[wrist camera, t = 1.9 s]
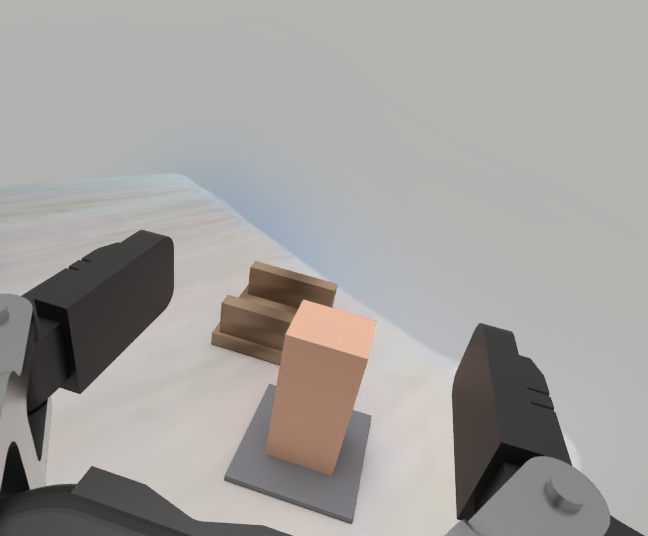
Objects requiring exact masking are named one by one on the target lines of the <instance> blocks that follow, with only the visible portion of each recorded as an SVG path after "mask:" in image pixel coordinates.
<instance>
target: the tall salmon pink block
mask: <svg viewBox="0 0 648 536" xmlns="http://www.w3.org/2000/svg"><path fill="white" fill-rule="evenodd" d="M375 326H376V320H373V319H369V318H366V317H362V316H359V315H355V314H352V313H348V312H345V311H341V310H338V309H334V308H331V307H328V306H324V305H321V304H317V303H314V302H310V301H307V300H303V301H302V303H301V305H300V307H299V309H298V311H297V313H296V315H295V317H294V318H293V320H292V322H291V324H290V326H289V328H288V330H287V332H286V334H285V339H284V345H283V351H282V357H281V363H280V369H279V375H278V380H277V386H276V392H275V398H274V404H273V410H272V416H271V422H270V427H269V433H268V439H267V445H266V451H265V454H267V455H270V456H273V457H276V458H279V459H282V460H285V461H288V462H291V463H294V464H297V465H300V466H303V467H306V468H309V469H312V470H315V471H318V472H321V473H324V474H327V475H330V476H332V475H333V472H334V469H335V465H336V462H337V459H338V456H339V452H340V449H341V446H342V443H343V439H344V436H345V433H346V430H347V426H348V423H349V420H350V416H351V413H352V410H353V407H354V403H355V400H356V397H357V394H358V390H359V387H360V384H361V381H362V377H363V374H364V371H365V368H366V364H367V361H368V357H369V353H370V348H371V344H372V339H373V335H374V330H375Z"/></svg>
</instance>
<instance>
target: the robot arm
mask: <svg viewBox="0 0 648 536" xmlns="http://www.w3.org/2000/svg"><path fill="white" fill-rule="evenodd" d="M173 290H174V245H173V241H172V239H171V238H170V237H167V236H163V235H160V234H156V233H152V232H149V231H145V230H140V231H138V232H136V233H135V234H133V235H132V236H130V237H129V238H127V239H126V240H124V241H122V242H121V243H119V242H118V243H114V244H111V245H108V246H104V247H101V248H98V249H96V250H94V251H93V252H91V253H90V254H88V255H86V256H85V257H83V258H82V260H81V261H80V260H78V261H77V262H75V263H73V264H72V265H70V266H69V268H68V269H66V268H65V269H64V270H62V271H61V272H59V273H57V274H56V275H54V276H53V277H51V278H49V279H48V280H46V281H44V282H43V283H41V284H40V285H38V286H36V287H35V288H33V289H32V290H30V291H28V292H27V293H25V294H24V295H22V296H18V295H13V294H0V536H292V535H289V534H286V533H283V532H280V531H278V530H275V529H272V528H269V527H266V526H263V525H247V524H232V523H217V522H202V521H197V520H194V519H192V518H191V517H189V516H188V515H186V514H185V513H184V512H182V511H181V510H180V509H178V508H177V507H175V506H174V505H173V504H171V503H170V502H169V501H167V500H166V499H165V498H163V497H162V496H160V495H159V494H158V493H156V492H155V491H154V490H152V489H151V488H150V487H148V486H147V485H145V484H142V483H139V482H136V481H134V480H131V479H128V478H125V477H122V476H119V475H116V474H113V473H110V472H108V471H105V470H102V469H99V468H96V467H93V466H91V468H90V469H89V470H88V471H87V473H86V474H85V475H84V476H83V478H82V479H81V480H80V481H79V483H78V484H59V485H51V486H46V464H47V454H48V443H49V433H50V422H51V412H52V400H51V395H52V394H53V393H54V392H55V391H56V390H57V389H58V388H59V387H60V388H63V389H66V390H69V391H72V392H75V393H78V394H81V393H82V392H83V391H84V390H85V389H86V388H87V387H88V386H89V385H90V384H91V383H92V382H93V381H94V380H95V379H96V378H97V377H98V376H99V375H100V374H101V373H102V372H103V371H104V370H105V369H106V368H107V367H108V366H109V365H110V364H111V363H112V362H113V361H114V360H115V359H116V358H117V357H118V356H119V355H120V354H121V353H122V352H123V351H124V350H125V349H126V348H127V347H128V346H129V345H130V344H131V343H132V342H133V341H134V340H135V339H136V338H137V337H138V336H139V335H140V334H141V333H142V332H143V331H144V330H145V329H146V328H147V327H148V326H149V325H150V324H151V323H152V322H153V321H154V320H155V319H156V318H157V317H158V316H159V315H160V314H161V313H162V312H163V311H164V310H165V309H166V308H167V306H168V304H169V303H170V301H171V298H172V295H173ZM452 407H453V432H454V457H455V483H456V508H457V519H458V520H461V521H460V522H458V523H457V524H456V525H455V526H454V527H453V528H452V529H451V530H450V531H449V532H448V533H447V534H446V535H445V536H644V535H642V534H640V533H639V532H637V531H635V530H634V529H632V528H630V527H628V526H627V525H625V524H623V523H622V522H620V521H618V520H617V519H615V518H614V517H612V516H611V515H610V512H609V509H608V506H607V503H606V501H605V499H604V498H603V496H602V495H601V493H600V491H599V490H598V489H597V488H596V486H595V485H594V484H593V483H592V482H591V481H590V480H589V479H588V478H587V477H586V476H585V475H584V474H582V473H581V472H580V471H578V470H577V469H576V468H574V467H572V464H571V460H570V457H569V454H568V451H567V448H566V444H565V441H564V438H563V435H562V432H561V429H560V425H559V422H558V419H557V416H556V413H555V412H554V406H553V403H552V400H551V397H549V390H548V387H547V384H546V381H545V378H544V375H543V374H542V373H541V372H540V370H539V369H538V368H537V366H536V365H535V364H534V363H533V361H532V360H531V359H530V358H527V357H523V356H520V355H519V354H518V350H517V346H516V342H515V338H514V334H513V333H512V332H511V331H507V330H504V329H500V328H496V327H493V326H489V325H486V324H482V323H480V324H478V326H477V327H476V329H475V331H474V333H473V335H472V337H471V340H470V342H469V344H468V346H467V349H466V351H465V353H464V356H463V358H462V360H461V362H460V365H459V367H458V369H457V372H456V375H455V378H454V383H453V389H452Z"/></svg>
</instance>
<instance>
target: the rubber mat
mask: <svg viewBox="0 0 648 536" xmlns="http://www.w3.org/2000/svg"><path fill="white" fill-rule="evenodd" d="M275 392H276V386H275V385H271V384H269V386H268V388H267V390H266V392H265V394H264V396H263V398H262V400H261V402H260V404H259V406H258V408H257V410H256V413H255V415H254V417H253V419H252V421H251V423H250V425H249V427H248V429H247V431H246V433H245V435H244V437H243V439H242V441H241V443H240V445H239V448H238V450H237V452H236V454H235V456H234V458H233V460H232V462H231V464H230V466H229V468H228V470H227V472H226V474H225V479H224V480H227V481H230V482H232V483H235V484H238V485H241V486H244V487H247V488H250V489H253V490H256V491H259V492H262V493H264V494H267V495H270V496H273V497H276V498H279V499H282V500H285V501H288V502H291V503H294V504H296V505H299V506H302V507H305V508H308V509H311V510H314V511H317V512H320V513H323V514H326V515H328V516H331V517H334V518H337V519H340V520H343V521H346V522H349V523H352V520H353V516H354V510H355V504H356V499H357V493H358V488H359V482H360V476H361V471H362V465H363V460H364V454H365V448H366V443H367V437H368V432H369V426H370V420H371V416H370V415H367V414H364V413H361V412H358V411H354V410H352V413H351V416H350V420H349V423H348V426H347V430H346V433H345V436H344V439H343V443H342V446H341V449H340V452H339V456H338V459H337V462H336V465H335V469H334V472H333V475H332V476H330V475H327V474H324V473H321V472H318V471H315V470H312V469H309V468H306V467H303V466H300V465H297V464H294V463H291V462H288V461H285V460H282V459H279V458H276V457H273V456H270V455H267V454H265V451H266V445H267V439H268V433H269V427H270V422H271V416H272V410H273V404H274V398H275Z"/></svg>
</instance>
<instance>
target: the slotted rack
mask: <svg viewBox="0 0 648 536" xmlns="http://www.w3.org/2000/svg"><path fill="white" fill-rule="evenodd" d="M336 289H337V284H335V283H331V282H328V281H324V280H321V279H317V278H314V277H310V276H306V275H303V274H299V273H296V272H292V271H289V270H285V269H281V268H278V267H274V266H271V265H267V264H264V263H260V262H257V261H255V262H254V263H253V265H252V266H251V267H250V277H249V285H248V286H247V288H246V289H245V290H244V291H243V293H242V294H241V295H240V297H239V298H237V297H234V296H230V295H228V296H227V297H226V298H225V299H224V300H223V302H222V306H221V320H220V323H219V324H218V326H217V327H216V328H215V330H214V331H213V332H212V343H211V344H214V345H217V346H220V347H223V348H227V349H230V350H233V351H236V352H240V353H243V354H246V355H249V356H253V357H256V358H259V359H263V360H266V361H269V362H272V363H276V364H279V365H280V363H281V357H282V351H283V345H284V339H285V334H286V332H287V330H288V328H289V326H290V324H291V322H292V320H293V318H294V317H295V315H296V313H297V311H298V309H299V307H300V305H301V303H302V301H303V300H307V301H310V302H314V303H317V304H321V305H324V306H328V307H331V308H332V306H333V302H334V297H335V293H336Z"/></svg>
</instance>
